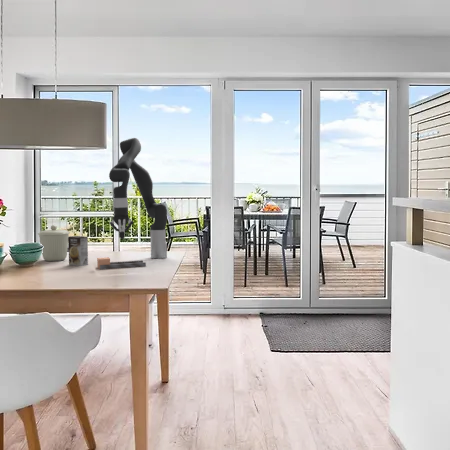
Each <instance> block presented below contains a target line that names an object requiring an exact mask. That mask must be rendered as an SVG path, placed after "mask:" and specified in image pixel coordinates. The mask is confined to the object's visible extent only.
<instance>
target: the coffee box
mask: <svg viewBox="0 0 450 450" xmlns="http://www.w3.org/2000/svg"><path fill="white" fill-rule="evenodd" d="M88 241H89V239H88V236H83V235H82V236H81V235H75V236H74V235H73V236H71V235H70V236H69V237H68V265H69V266H75V267H76V266H77V267H82V266H84V267H85V266H88V265H89V251H88V250H89V249H88V246H89V244H88V243H89V242H88Z"/></svg>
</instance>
